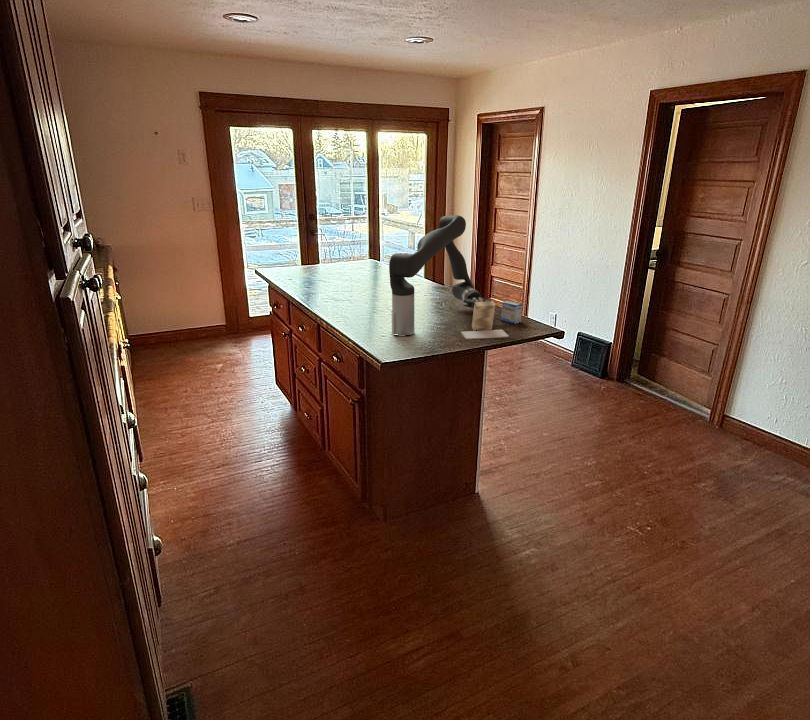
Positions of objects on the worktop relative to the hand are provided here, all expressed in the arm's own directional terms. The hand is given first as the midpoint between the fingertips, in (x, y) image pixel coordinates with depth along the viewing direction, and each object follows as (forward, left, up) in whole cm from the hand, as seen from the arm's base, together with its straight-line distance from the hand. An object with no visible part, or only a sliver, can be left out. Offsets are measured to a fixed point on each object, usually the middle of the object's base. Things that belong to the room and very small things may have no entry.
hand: (482, 307), depth 219 cm
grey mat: (-1, -8, -10) cm, 12 cm away
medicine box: (+16, +9, -10) cm, 21 cm away
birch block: (0, 0, -9) cm, 9 cm away
